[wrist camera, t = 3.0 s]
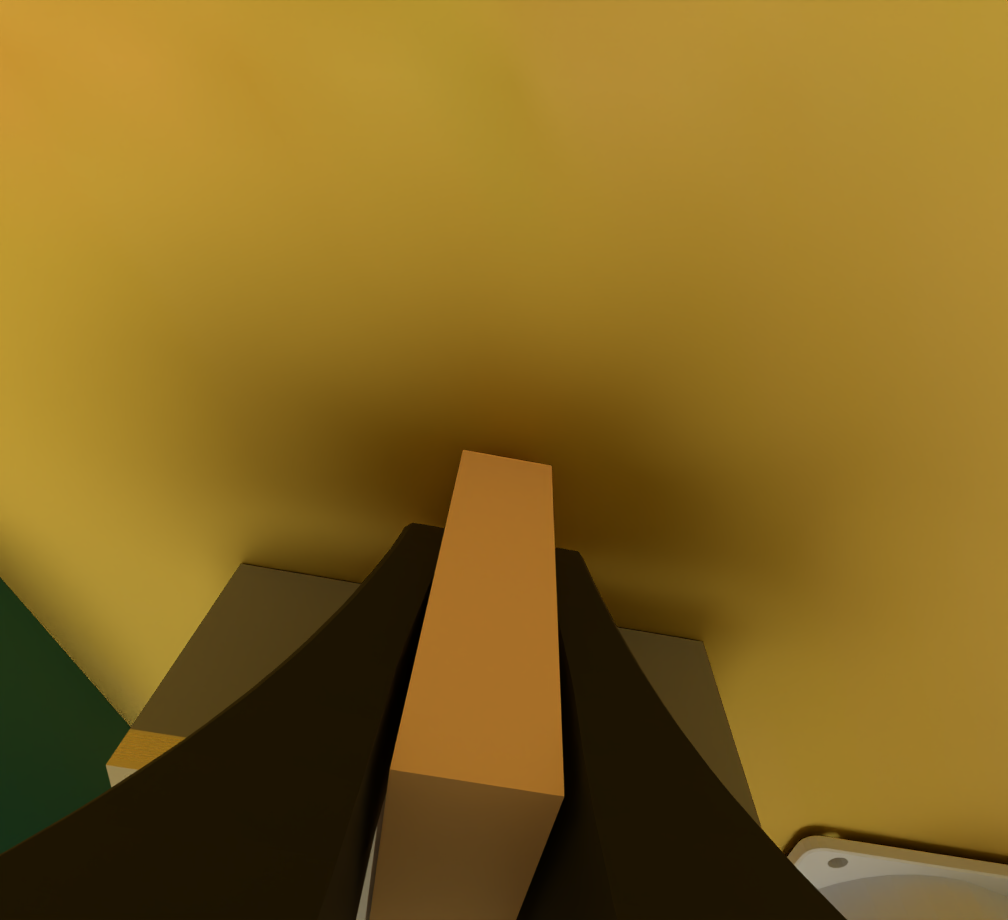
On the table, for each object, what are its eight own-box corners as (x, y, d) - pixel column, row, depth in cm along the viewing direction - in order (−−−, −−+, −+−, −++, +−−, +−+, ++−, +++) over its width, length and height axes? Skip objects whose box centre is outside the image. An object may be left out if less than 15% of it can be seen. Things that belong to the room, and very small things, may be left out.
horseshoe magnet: (240, 563, 13) (35, 868, 8) (703, 641, 13) (809, 980, 8) (257, 873, 19) (153, 1154, 14) (568, 919, 20) (579, 1207, 14)
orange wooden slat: (462, 449, 11) (390, 769, 5) (551, 465, 11) (563, 796, 5) (408, 781, 16) (342, 1115, 10) (469, 791, 16) (434, 1128, 10)
